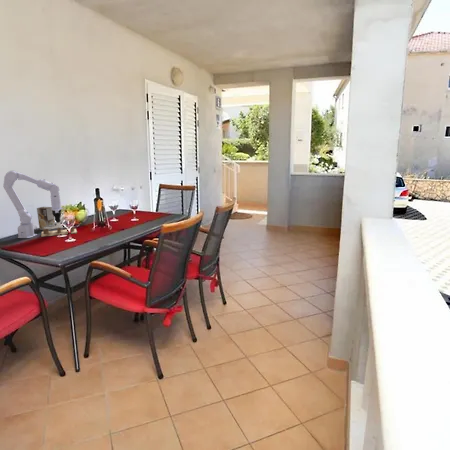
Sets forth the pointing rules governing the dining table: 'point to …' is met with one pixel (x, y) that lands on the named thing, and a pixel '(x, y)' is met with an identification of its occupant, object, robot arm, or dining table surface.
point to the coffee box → (45, 217)
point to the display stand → (56, 232)
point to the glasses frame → (53, 226)
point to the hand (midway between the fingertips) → (58, 221)
